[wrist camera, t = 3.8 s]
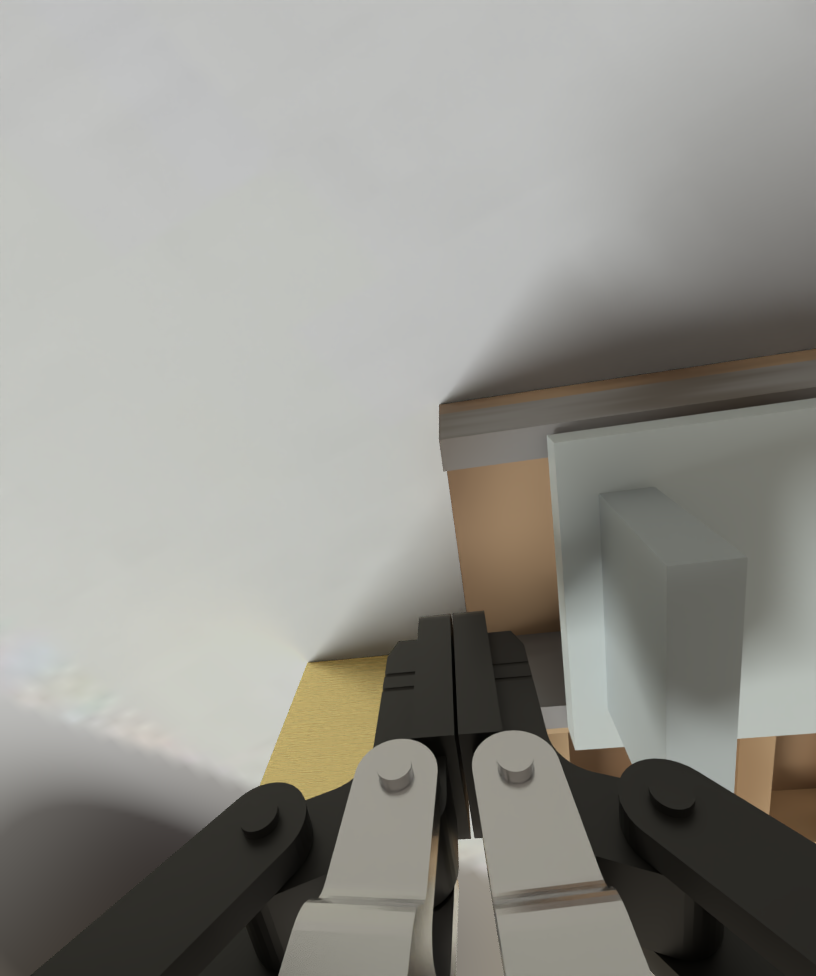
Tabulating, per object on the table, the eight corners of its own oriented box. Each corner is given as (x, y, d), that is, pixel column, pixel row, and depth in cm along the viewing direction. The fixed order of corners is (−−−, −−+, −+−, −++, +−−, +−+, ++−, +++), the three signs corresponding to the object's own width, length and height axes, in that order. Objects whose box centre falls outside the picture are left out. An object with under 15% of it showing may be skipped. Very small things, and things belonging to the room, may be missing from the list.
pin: (400, 653, 21) (366, 937, 11) (415, 729, 22) (395, 1044, 12) (307, 662, 21) (198, 942, 11) (327, 737, 22) (242, 1045, 13)
